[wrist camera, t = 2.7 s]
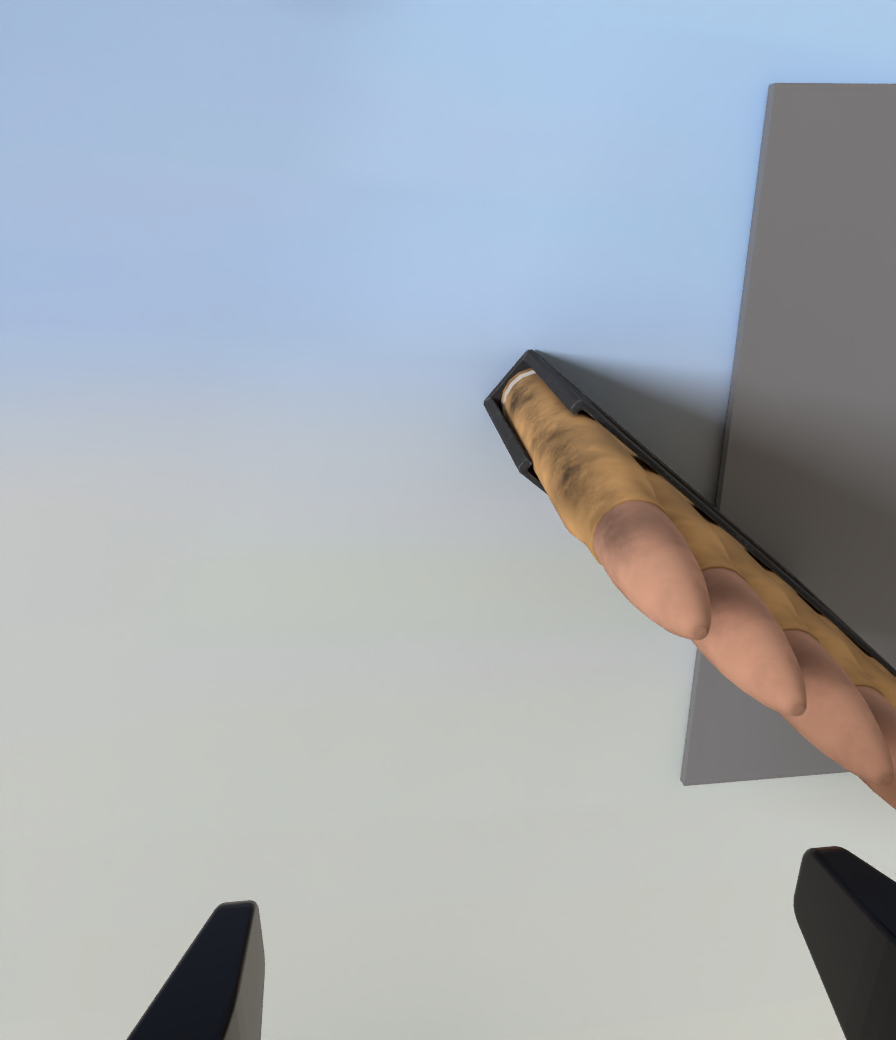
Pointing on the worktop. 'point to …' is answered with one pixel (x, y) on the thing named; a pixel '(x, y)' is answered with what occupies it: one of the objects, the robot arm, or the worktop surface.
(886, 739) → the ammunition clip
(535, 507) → the worktop surface
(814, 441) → the rubber mat
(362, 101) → the worktop surface
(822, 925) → the robot arm
